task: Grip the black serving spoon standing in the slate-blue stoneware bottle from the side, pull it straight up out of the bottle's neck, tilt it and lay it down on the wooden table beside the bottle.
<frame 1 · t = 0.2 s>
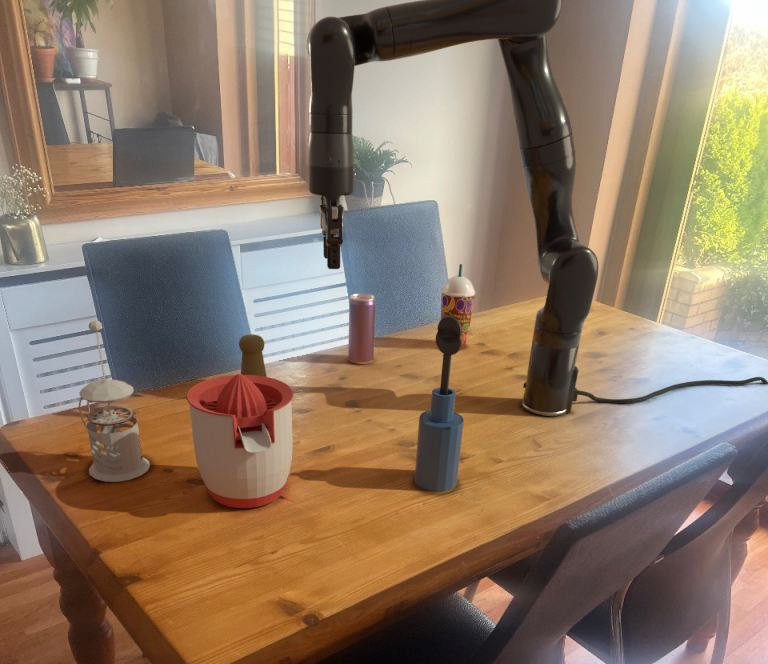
hand: (331, 263, 128), 29 cm above the table, tool pointing down, fingers open, 8 cm apart
bottle: (435, 483, 121), on the table
smoothie: (453, 346, 183), on the table
beverage can: (360, 361, 170), on the table
cork: (254, 387, 154), on the table
citrus juicer: (248, 495, 115), on the table
french press: (116, 467, 121), on the table
spoon: (435, 481, 120), resting on bottle
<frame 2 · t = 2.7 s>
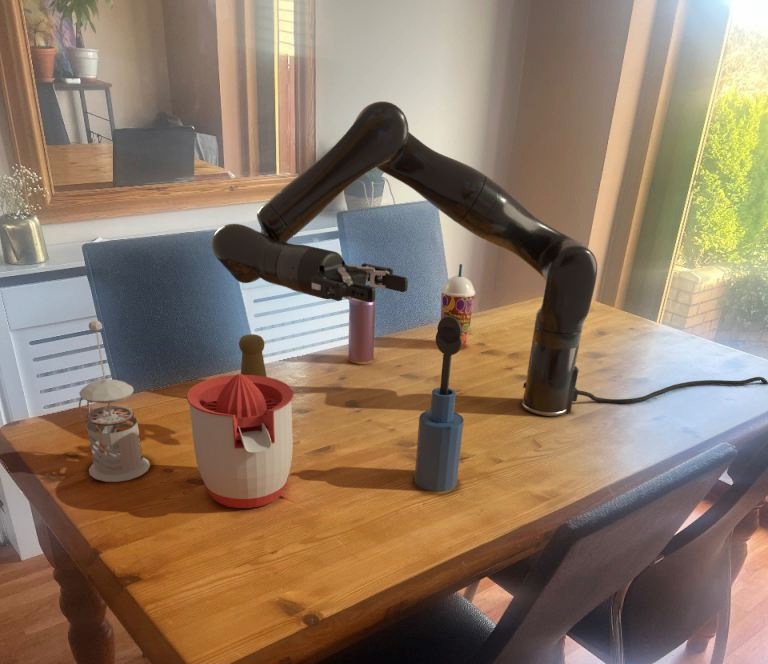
hand: (390, 290, 110), 30 cm above the table, tool horizontal, fingers open, 8 cm apart
nothing on the table moved.
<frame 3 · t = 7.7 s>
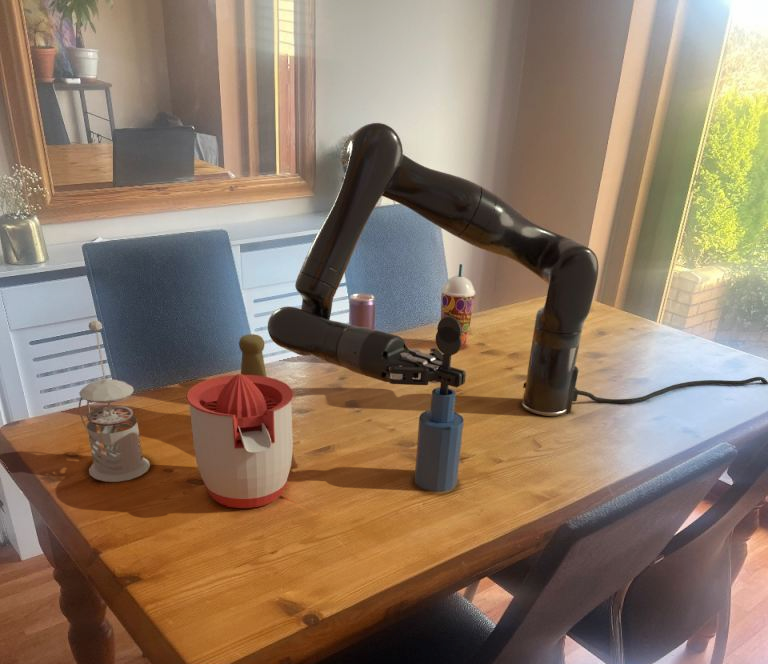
hand: (462, 379, 109), 19 cm above the table, tool horizontal, fingers closed on spoon, 1 cm apart
spoon: (435, 481, 120), resting on bottle, touching gripper
everything else where it was.
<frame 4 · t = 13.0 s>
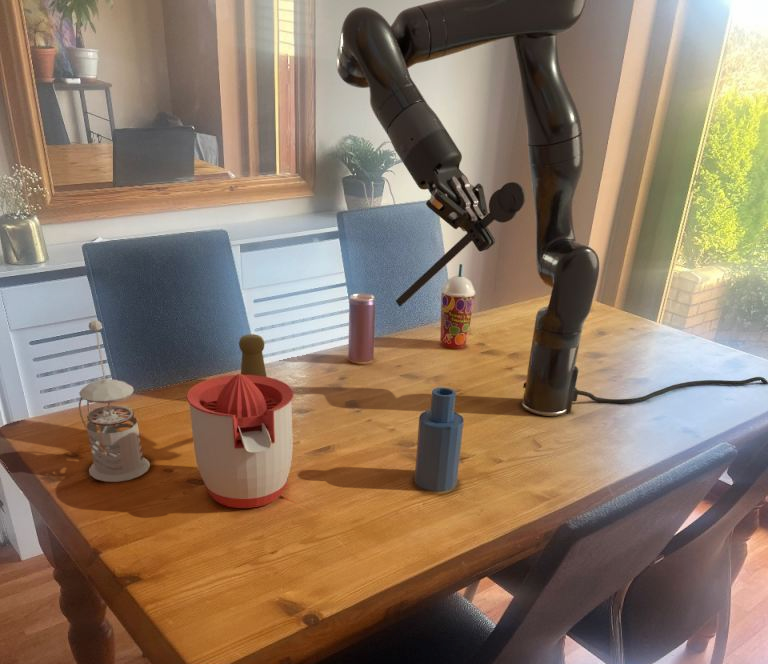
hand: (488, 247, 105), 37 cm above the table, tool tilted 45°, fingers closed on spoon, 1 cm apart
spoon: (398, 303, 118), point 26 cm above the table, tilted 45°, touching gripper
everything else where it was.
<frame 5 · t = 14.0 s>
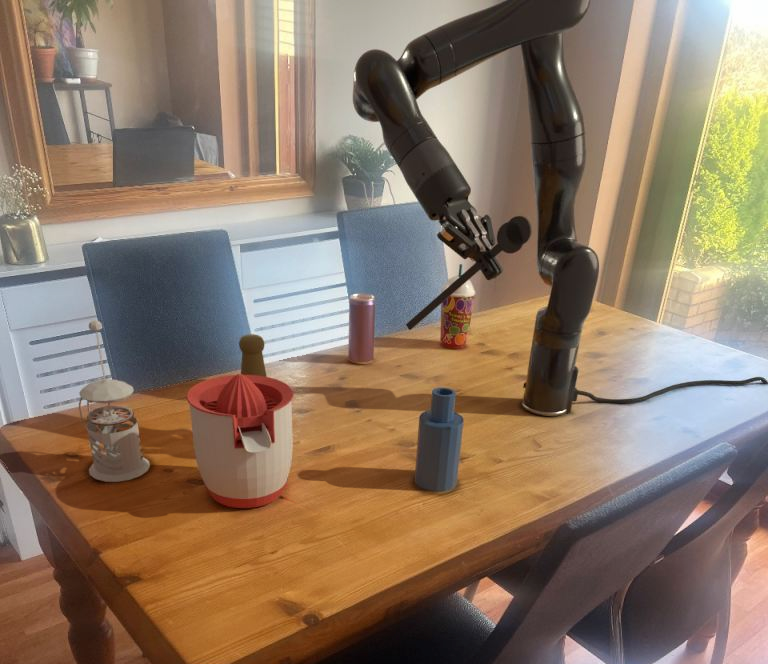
hand: (495, 276, 110), 33 cm above the table, tool tilted 45°, fingers closed on spoon, 1 cm apart
spoon: (408, 327, 123), point 21 cm above the table, tilted 45°, touching gripper
everything else where it was.
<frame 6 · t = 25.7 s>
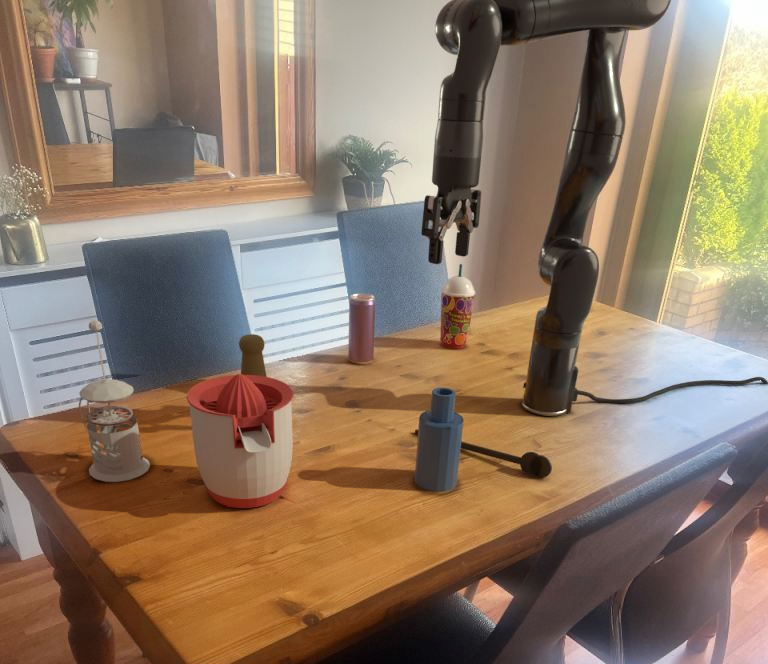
hand: (448, 259, 121), 32 cm above the table, tool pointing down, fingers open, 8 cm apart
spoon: (415, 432, 136), point 1 cm above the table, tilted 86°
everything else where it was.
at the end: spoon inside the target area (1.4 cm from its centre), point 0.6 cm above the table; spoon tilted 86°; the gripper is holding nothing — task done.
